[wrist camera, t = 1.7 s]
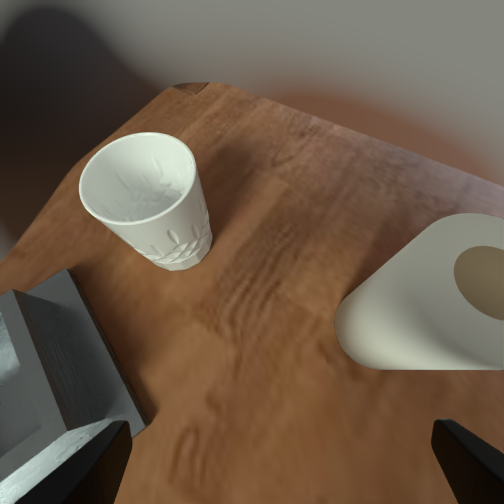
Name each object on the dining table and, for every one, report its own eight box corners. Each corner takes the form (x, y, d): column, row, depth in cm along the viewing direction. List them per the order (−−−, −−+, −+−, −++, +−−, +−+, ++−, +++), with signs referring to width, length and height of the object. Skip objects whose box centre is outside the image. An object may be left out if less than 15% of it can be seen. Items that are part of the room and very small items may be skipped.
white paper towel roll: (428, 356, 21) (634, 341, 10) (352, 379, 21) (471, 393, 9) (390, 282, 24) (514, 198, 12) (322, 301, 24) (384, 232, 12)
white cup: (176, 196, 29) (137, 117, 20) (233, 230, 27) (219, 159, 18) (125, 250, 26) (53, 188, 17) (184, 292, 24) (138, 246, 15)
